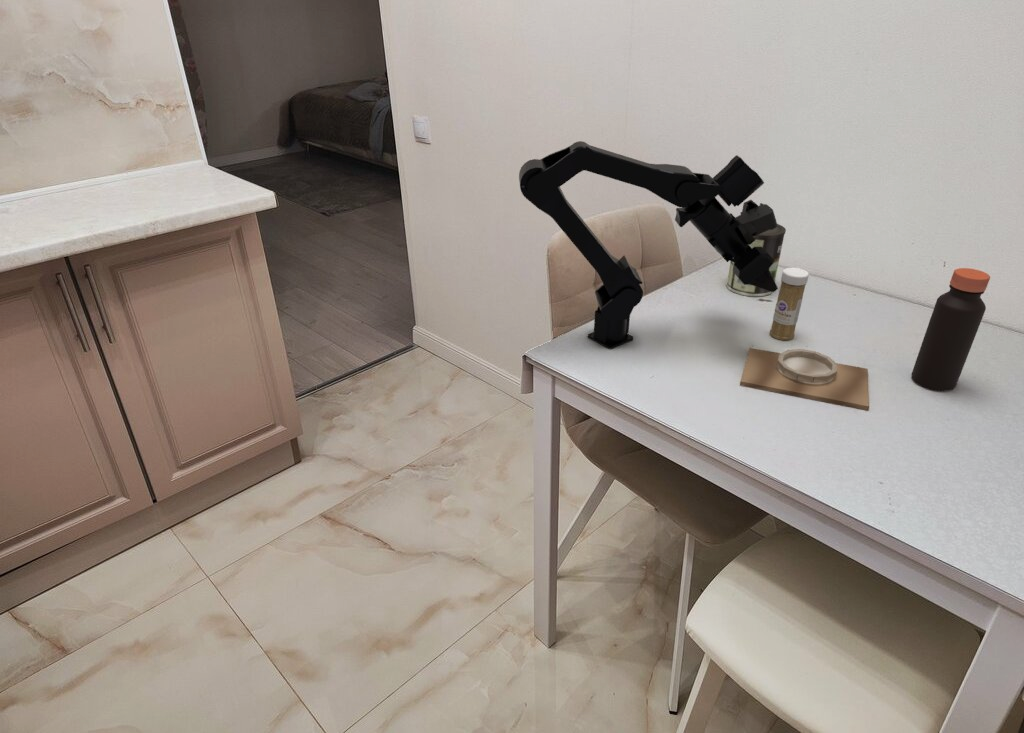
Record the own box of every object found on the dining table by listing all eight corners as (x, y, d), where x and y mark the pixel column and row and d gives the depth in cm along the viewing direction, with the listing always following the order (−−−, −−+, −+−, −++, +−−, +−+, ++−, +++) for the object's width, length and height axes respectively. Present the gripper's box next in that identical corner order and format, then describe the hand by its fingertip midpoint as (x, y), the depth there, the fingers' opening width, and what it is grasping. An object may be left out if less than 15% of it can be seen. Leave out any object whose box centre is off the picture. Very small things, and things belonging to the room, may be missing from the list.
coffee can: (770, 280, 153) (782, 220, 146) (776, 298, 145) (789, 236, 138) (724, 277, 155) (733, 218, 148) (727, 295, 147) (737, 233, 139)
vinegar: (903, 380, 115) (939, 272, 105) (921, 367, 119) (958, 262, 109) (944, 396, 110) (986, 285, 100) (962, 383, 114) (1004, 274, 104)
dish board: (739, 385, 114) (742, 372, 113) (748, 351, 124) (751, 339, 123) (868, 410, 107) (872, 397, 106) (866, 372, 117) (870, 360, 116)
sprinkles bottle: (765, 336, 130) (779, 272, 123) (774, 328, 133) (788, 264, 126) (789, 343, 127) (804, 278, 120) (797, 334, 130) (812, 270, 123)
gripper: (772, 207, 107) (824, 269, 113) (736, 177, 123) (784, 233, 129) (716, 254, 111) (770, 312, 117) (688, 219, 127) (737, 272, 133)
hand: (766, 280), depth 124 cm, fingers open, 9 cm apart
